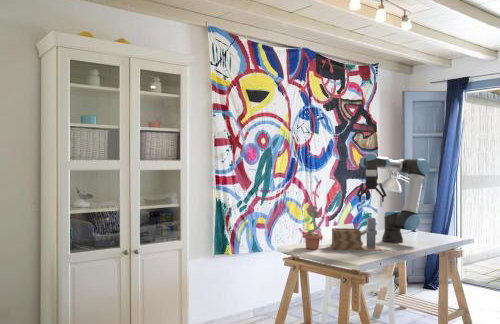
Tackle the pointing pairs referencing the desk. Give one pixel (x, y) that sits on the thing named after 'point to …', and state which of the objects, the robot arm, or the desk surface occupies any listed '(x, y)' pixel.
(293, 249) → the desk surface
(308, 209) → the decorative flower
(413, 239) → the desk surface
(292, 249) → the desk surface
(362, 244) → the door handle
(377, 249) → the tile
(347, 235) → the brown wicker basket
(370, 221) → the grey tall block
